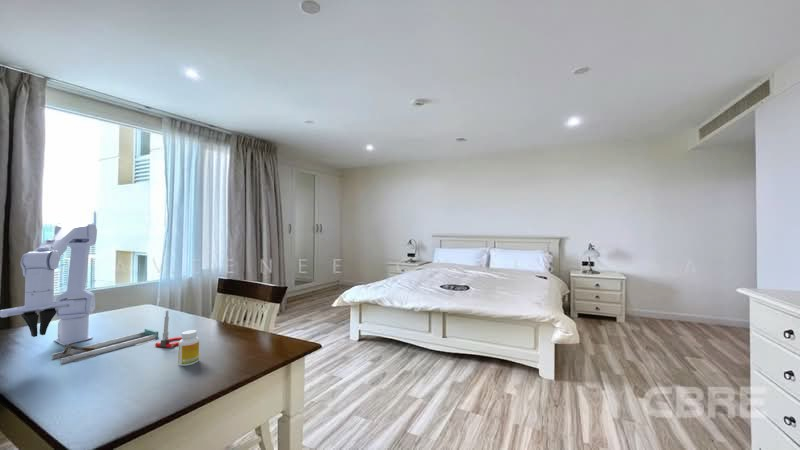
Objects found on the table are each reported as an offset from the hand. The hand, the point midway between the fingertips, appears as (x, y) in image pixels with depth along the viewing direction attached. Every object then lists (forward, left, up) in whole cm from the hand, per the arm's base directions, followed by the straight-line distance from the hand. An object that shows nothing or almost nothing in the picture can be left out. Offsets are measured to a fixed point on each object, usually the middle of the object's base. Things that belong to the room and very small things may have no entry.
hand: (38, 335), depth 94 cm
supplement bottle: (+37, +23, -10) cm, 45 cm away
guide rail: (0, +17, -9) cm, 19 cm away
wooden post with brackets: (0, +9, -10) cm, 13 cm away
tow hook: (+15, +30, -10) cm, 35 cm away
